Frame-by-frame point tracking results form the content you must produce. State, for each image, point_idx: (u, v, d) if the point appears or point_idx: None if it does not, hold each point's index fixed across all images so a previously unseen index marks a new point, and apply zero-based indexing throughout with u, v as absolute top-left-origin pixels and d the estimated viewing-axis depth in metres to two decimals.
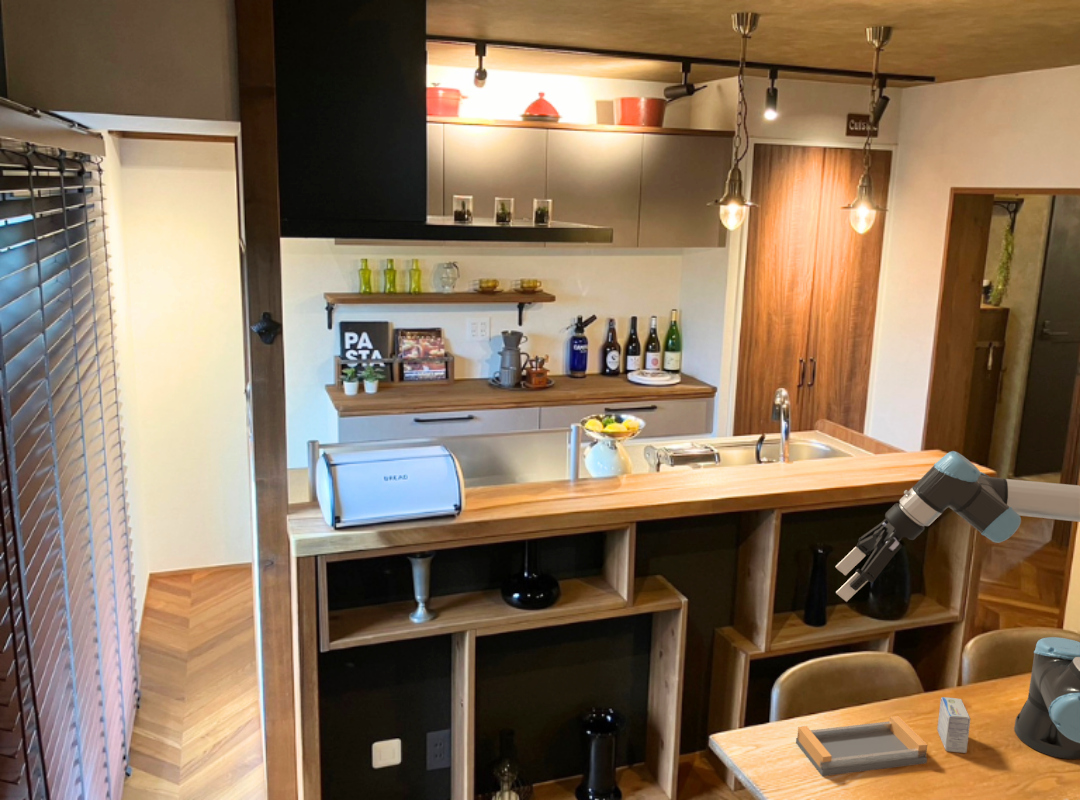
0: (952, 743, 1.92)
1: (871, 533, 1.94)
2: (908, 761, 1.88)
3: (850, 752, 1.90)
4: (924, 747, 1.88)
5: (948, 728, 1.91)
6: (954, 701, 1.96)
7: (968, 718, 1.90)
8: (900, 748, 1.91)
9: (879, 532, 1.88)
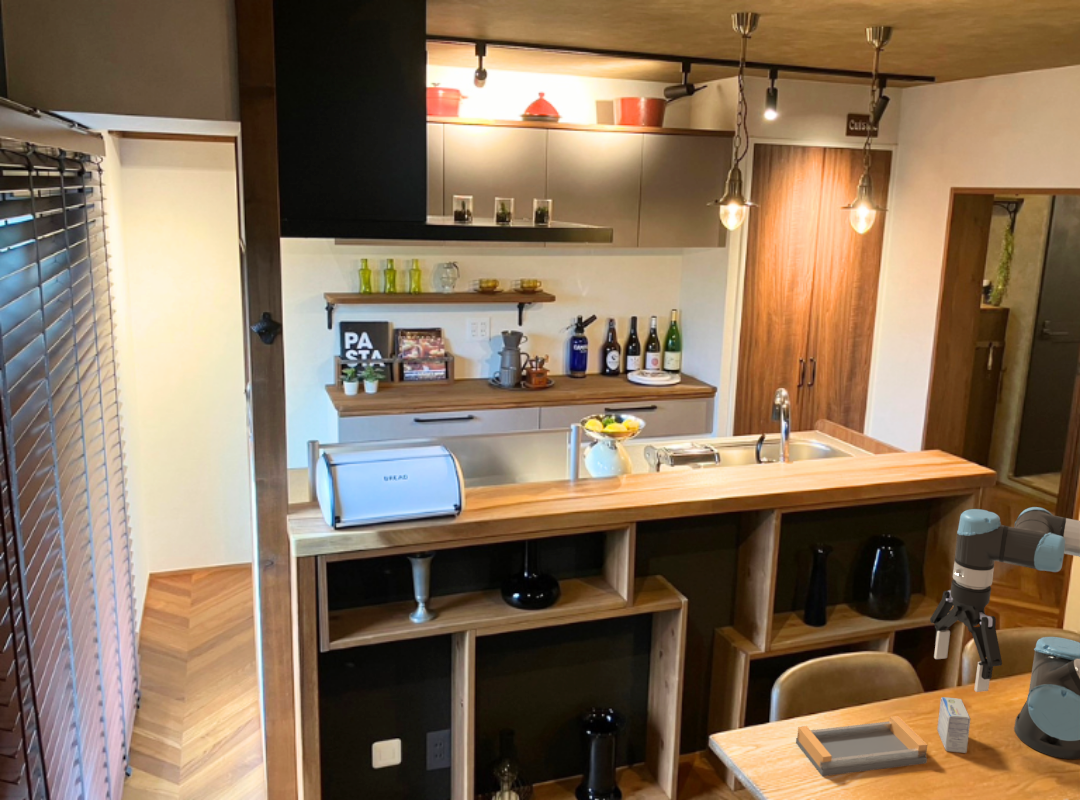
0: (952, 743, 1.92)
1: (940, 612, 1.96)
2: (908, 761, 1.88)
3: (850, 752, 1.90)
4: (924, 747, 1.88)
5: (948, 728, 1.91)
6: (954, 701, 1.96)
7: (968, 718, 1.90)
8: (900, 748, 1.91)
9: (956, 613, 1.90)
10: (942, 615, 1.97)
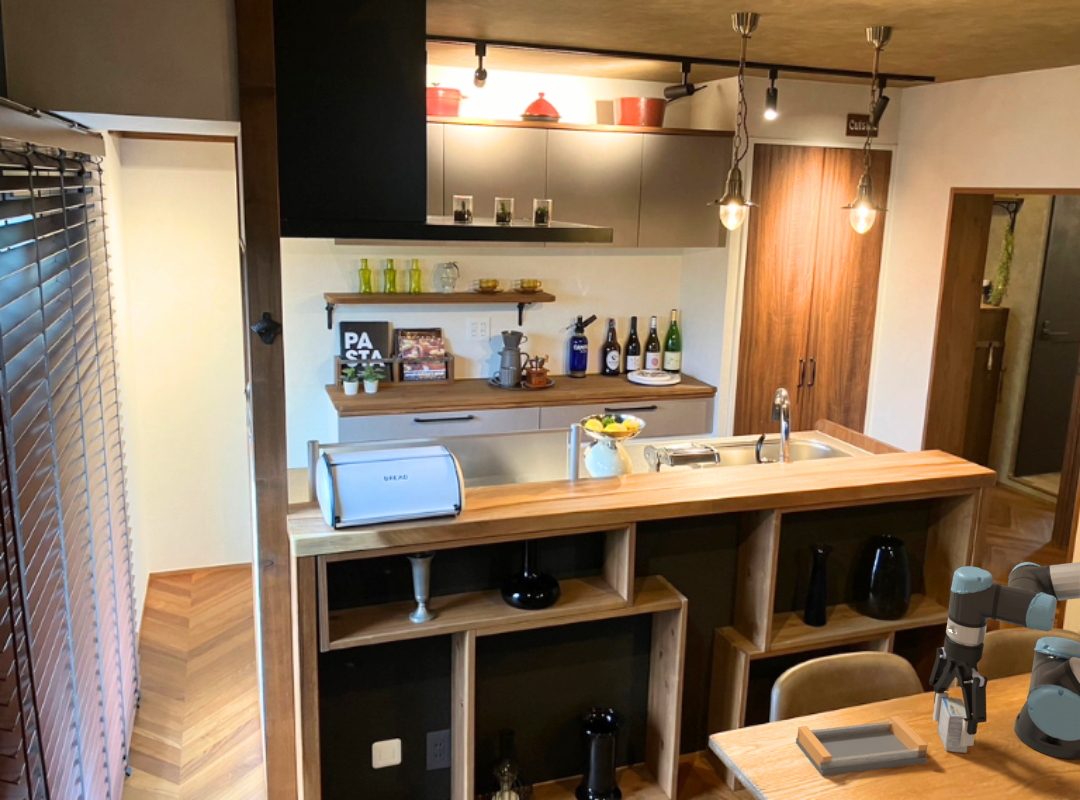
0: (952, 743, 1.92)
1: (937, 671, 1.98)
2: (908, 761, 1.88)
3: (850, 752, 1.90)
4: (924, 747, 1.88)
5: (948, 728, 1.91)
6: (954, 701, 1.96)
7: None
8: (900, 748, 1.91)
9: (950, 668, 1.93)
10: (940, 675, 1.99)
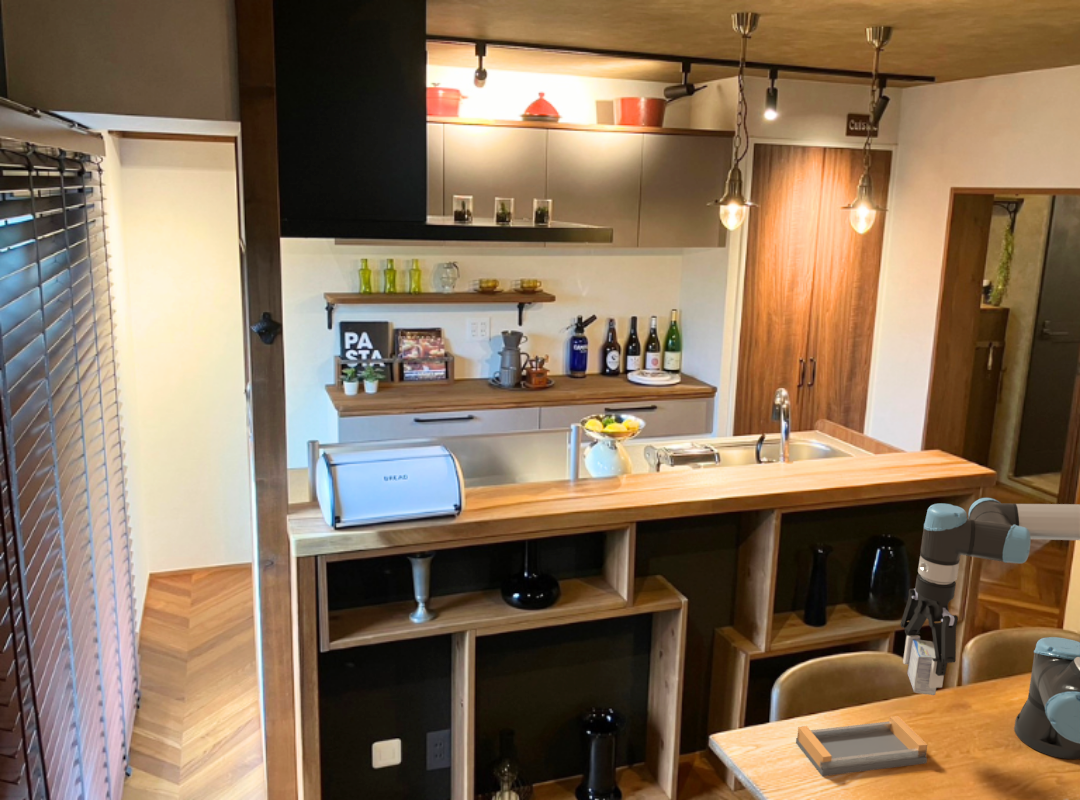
0: (920, 685, 1.87)
1: (908, 613, 1.94)
2: (908, 761, 1.88)
3: (850, 752, 1.90)
4: (924, 747, 1.88)
5: (917, 669, 1.87)
6: (925, 643, 1.92)
7: None
8: (900, 748, 1.91)
9: (921, 608, 1.88)
10: (911, 617, 1.95)
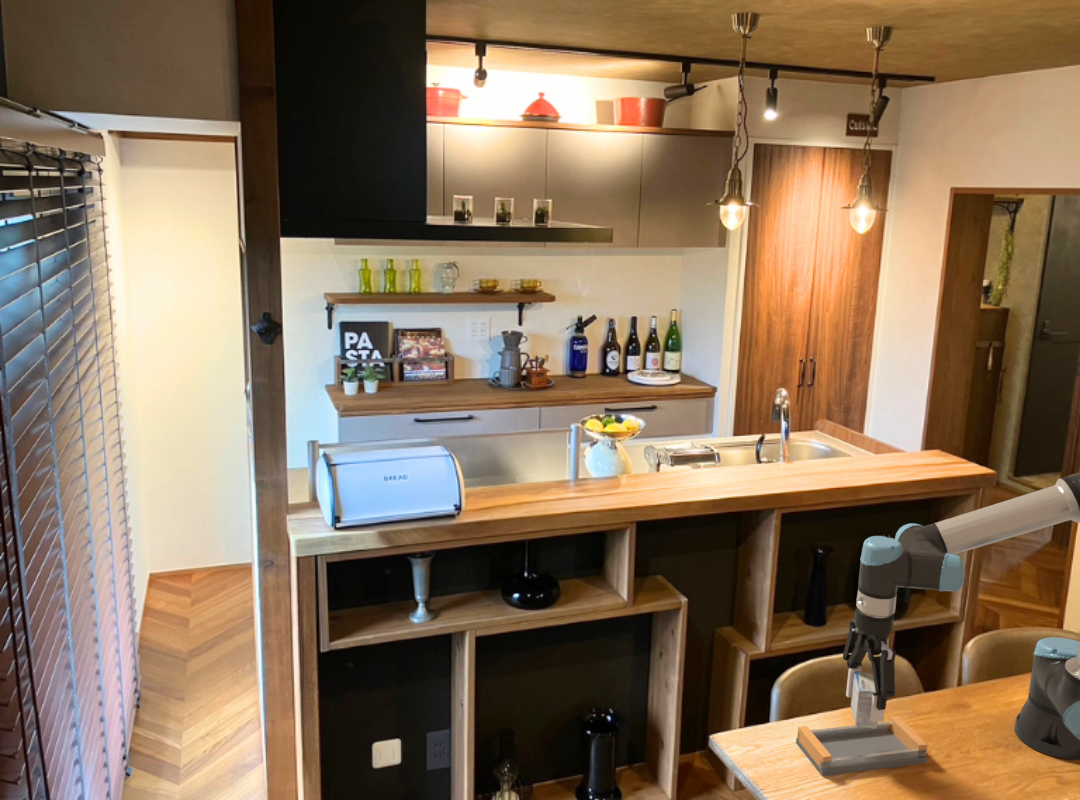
0: (862, 719, 1.86)
1: (850, 645, 1.92)
2: (908, 761, 1.88)
3: (850, 752, 1.90)
4: (924, 747, 1.88)
5: (858, 703, 1.85)
6: (866, 676, 1.90)
7: None
8: (900, 748, 1.91)
9: (861, 641, 1.87)
10: (853, 650, 1.93)
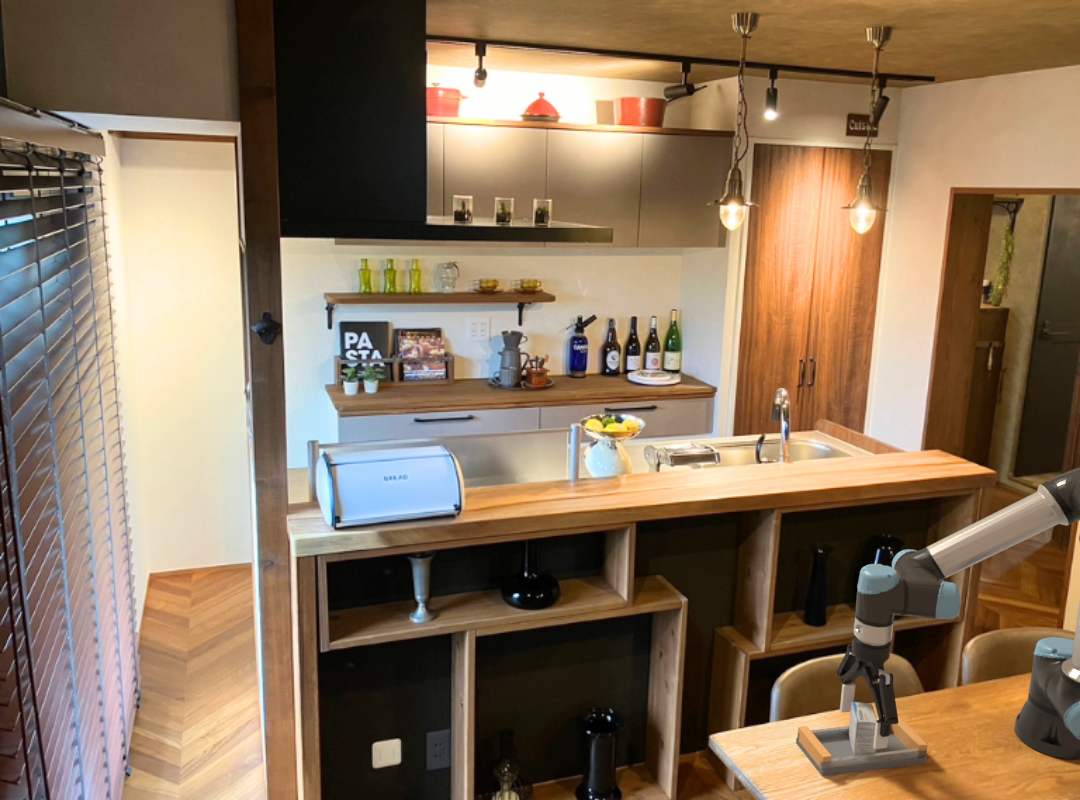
0: (860, 749, 1.87)
1: (845, 665, 1.95)
2: (908, 761, 1.88)
3: (850, 752, 1.90)
4: (924, 747, 1.88)
5: (856, 734, 1.87)
6: (864, 706, 1.92)
7: None
8: (900, 748, 1.91)
9: (858, 667, 1.88)
10: (847, 668, 1.96)
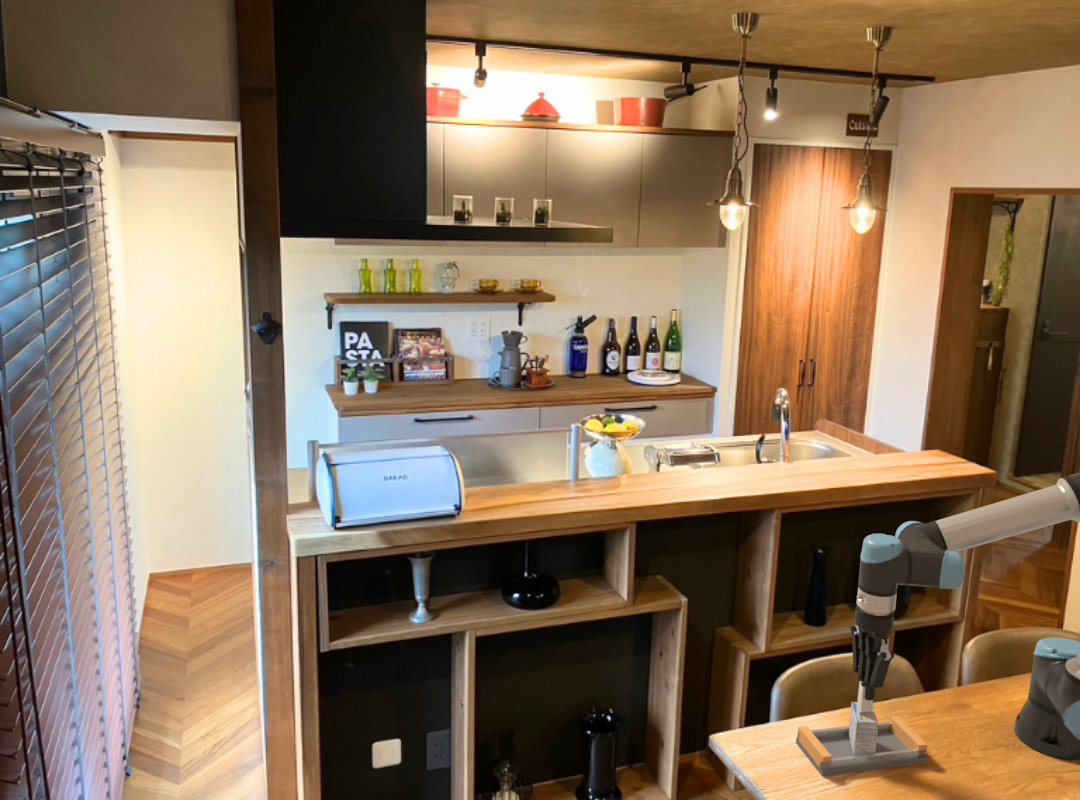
0: (860, 749, 1.87)
1: (856, 653, 1.90)
2: (908, 761, 1.88)
3: (850, 752, 1.90)
4: (924, 747, 1.88)
5: (856, 734, 1.87)
6: None
7: (876, 723, 1.86)
8: (900, 748, 1.91)
9: (863, 640, 1.86)
10: None
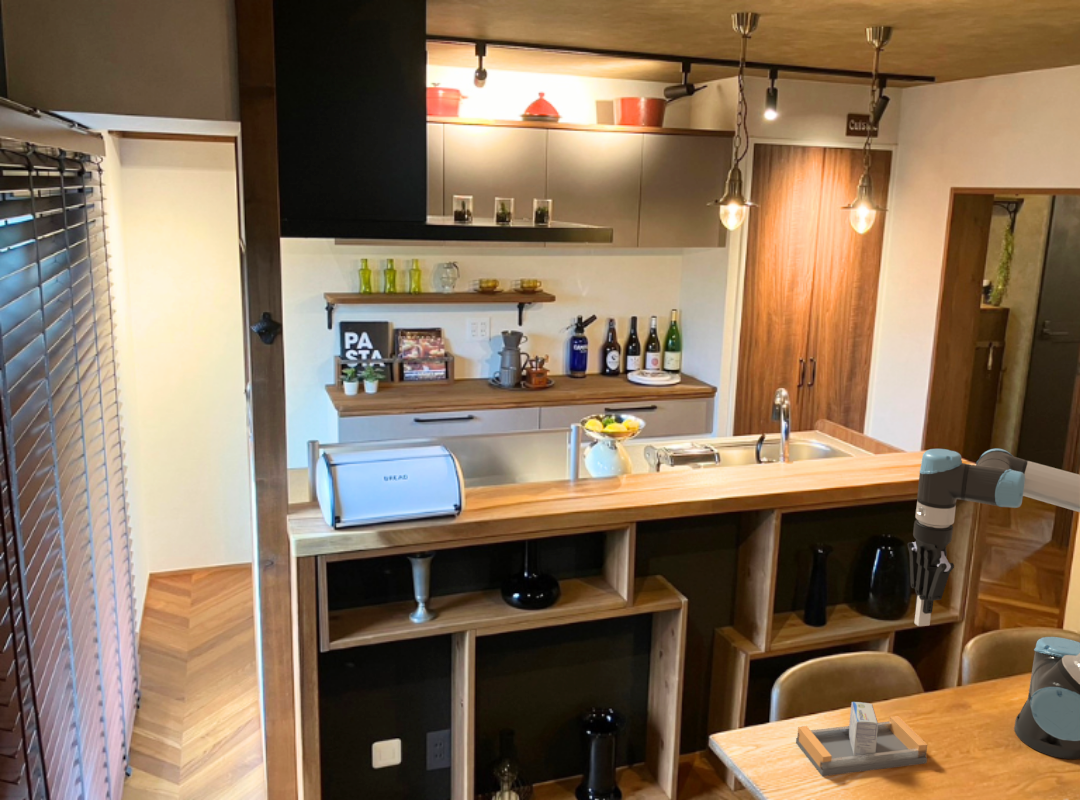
0: (860, 749, 1.87)
1: (914, 568, 1.94)
2: (908, 761, 1.88)
3: (850, 752, 1.90)
4: (924, 747, 1.88)
5: (856, 734, 1.87)
6: (864, 706, 1.92)
7: (876, 723, 1.86)
8: (900, 748, 1.91)
9: (921, 554, 1.90)
10: None
